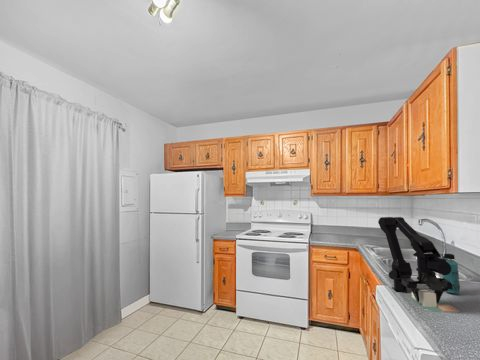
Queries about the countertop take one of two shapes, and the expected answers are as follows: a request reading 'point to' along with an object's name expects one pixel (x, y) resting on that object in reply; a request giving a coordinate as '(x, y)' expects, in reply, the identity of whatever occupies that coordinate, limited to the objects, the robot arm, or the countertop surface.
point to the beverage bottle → (452, 274)
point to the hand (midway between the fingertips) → (427, 302)
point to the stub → (427, 298)
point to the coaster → (447, 308)
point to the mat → (433, 309)
